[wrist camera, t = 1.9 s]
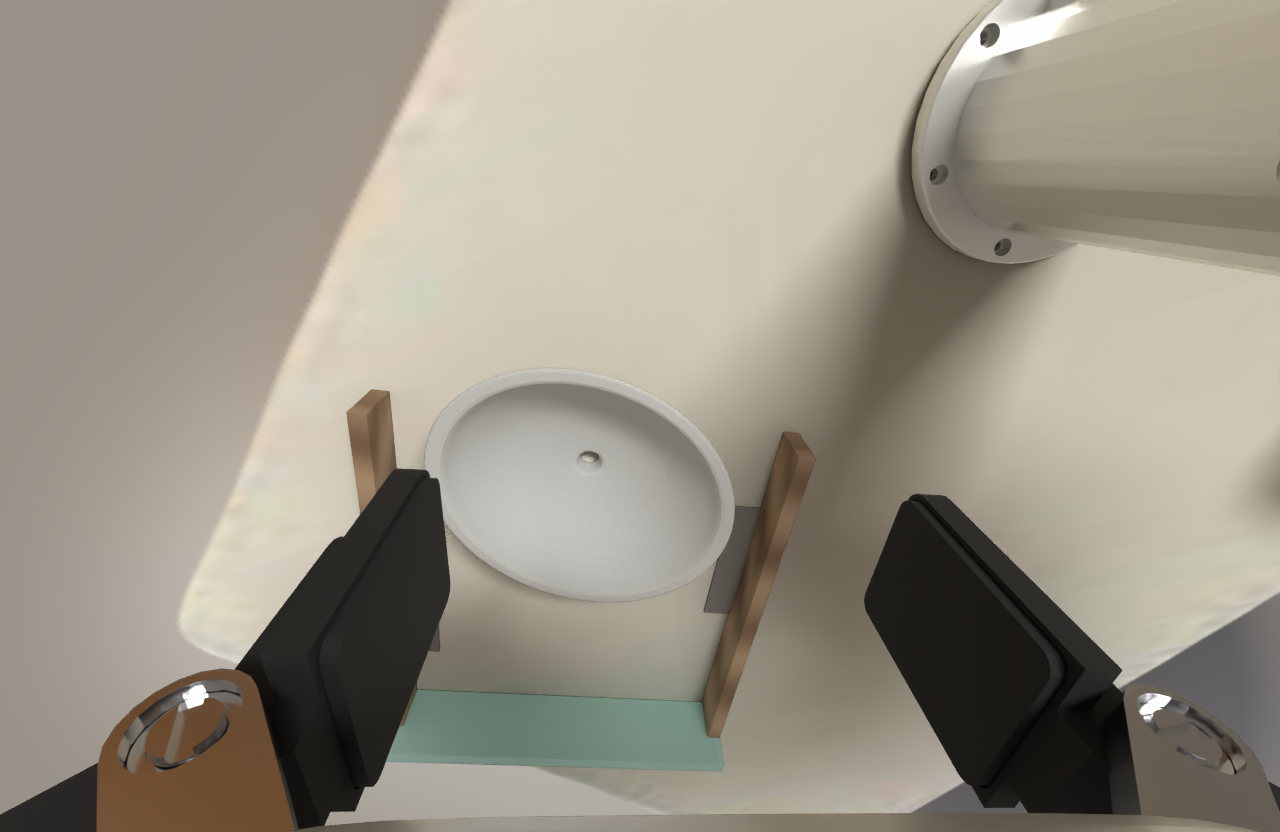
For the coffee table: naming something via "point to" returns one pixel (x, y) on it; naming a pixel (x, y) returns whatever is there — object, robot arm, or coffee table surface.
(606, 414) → the dish
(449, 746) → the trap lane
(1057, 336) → the coffee table surface
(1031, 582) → the robot arm
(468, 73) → the coffee table surface
